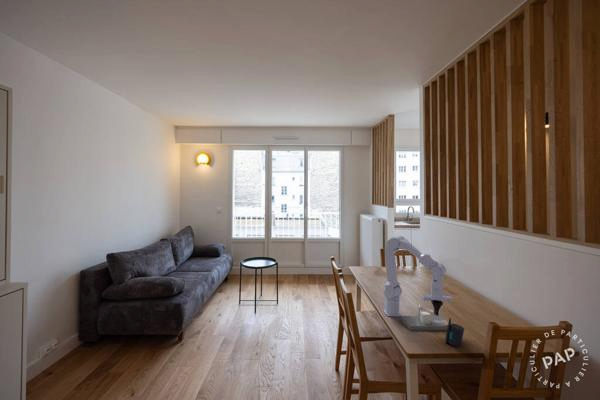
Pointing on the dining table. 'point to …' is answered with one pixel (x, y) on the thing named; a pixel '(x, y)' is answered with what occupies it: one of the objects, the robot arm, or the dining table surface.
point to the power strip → (415, 324)
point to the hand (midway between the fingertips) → (436, 314)
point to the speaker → (454, 334)
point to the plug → (425, 318)
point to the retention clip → (424, 309)
